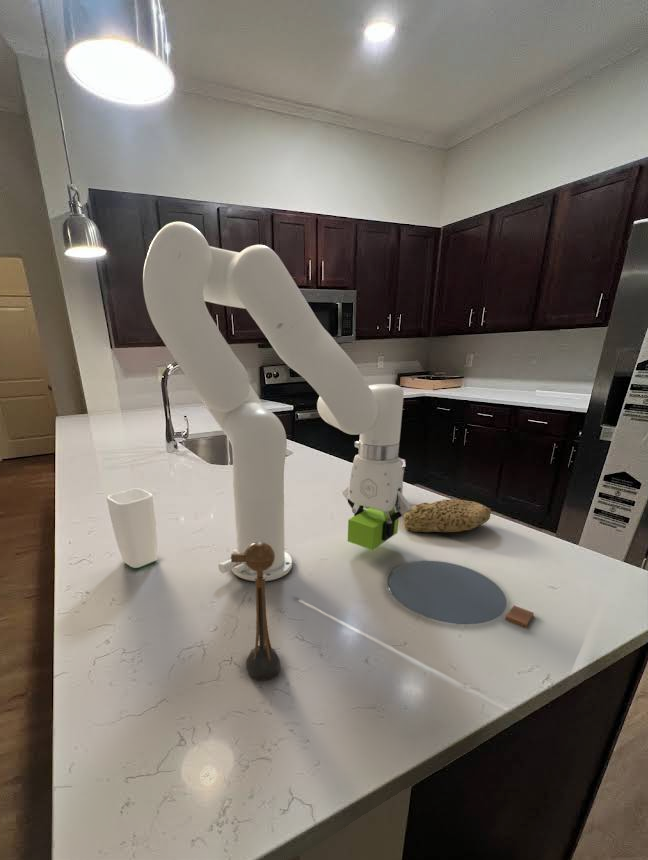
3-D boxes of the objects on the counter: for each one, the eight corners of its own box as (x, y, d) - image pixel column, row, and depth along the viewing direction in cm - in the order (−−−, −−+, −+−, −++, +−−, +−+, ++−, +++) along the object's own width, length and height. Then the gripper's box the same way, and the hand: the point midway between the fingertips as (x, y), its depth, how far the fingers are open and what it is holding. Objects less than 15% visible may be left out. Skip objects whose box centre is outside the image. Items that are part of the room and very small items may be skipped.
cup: (147, 549, 93) (137, 486, 87) (165, 561, 88) (155, 495, 82) (116, 561, 88) (103, 496, 82) (133, 574, 83) (120, 505, 77)
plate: (480, 644, 63) (481, 641, 63) (366, 593, 76) (366, 590, 76) (521, 589, 76) (522, 586, 76) (417, 553, 89) (418, 550, 89)
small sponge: (372, 550, 84) (373, 527, 82) (347, 541, 88) (348, 519, 86) (397, 533, 90) (399, 511, 88) (373, 525, 94) (374, 504, 92)
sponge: (406, 542, 96) (502, 533, 90) (402, 509, 94) (499, 498, 89) (403, 528, 108) (488, 519, 103) (400, 499, 107) (485, 488, 101)
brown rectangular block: (524, 630, 66) (526, 624, 65) (504, 622, 68) (505, 616, 67) (532, 618, 68) (534, 612, 68) (512, 611, 70) (513, 605, 70)
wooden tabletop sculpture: (238, 680, 57) (229, 552, 49) (239, 656, 62) (232, 534, 54) (281, 679, 57) (279, 550, 49) (279, 655, 62) (277, 533, 54)
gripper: (331, 447, 84) (329, 528, 92) (410, 463, 73) (401, 553, 80) (352, 440, 89) (349, 517, 97) (429, 453, 78) (419, 539, 85)
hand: (373, 532), depth 88 cm, fingers closed on small sponge, 6 cm apart
